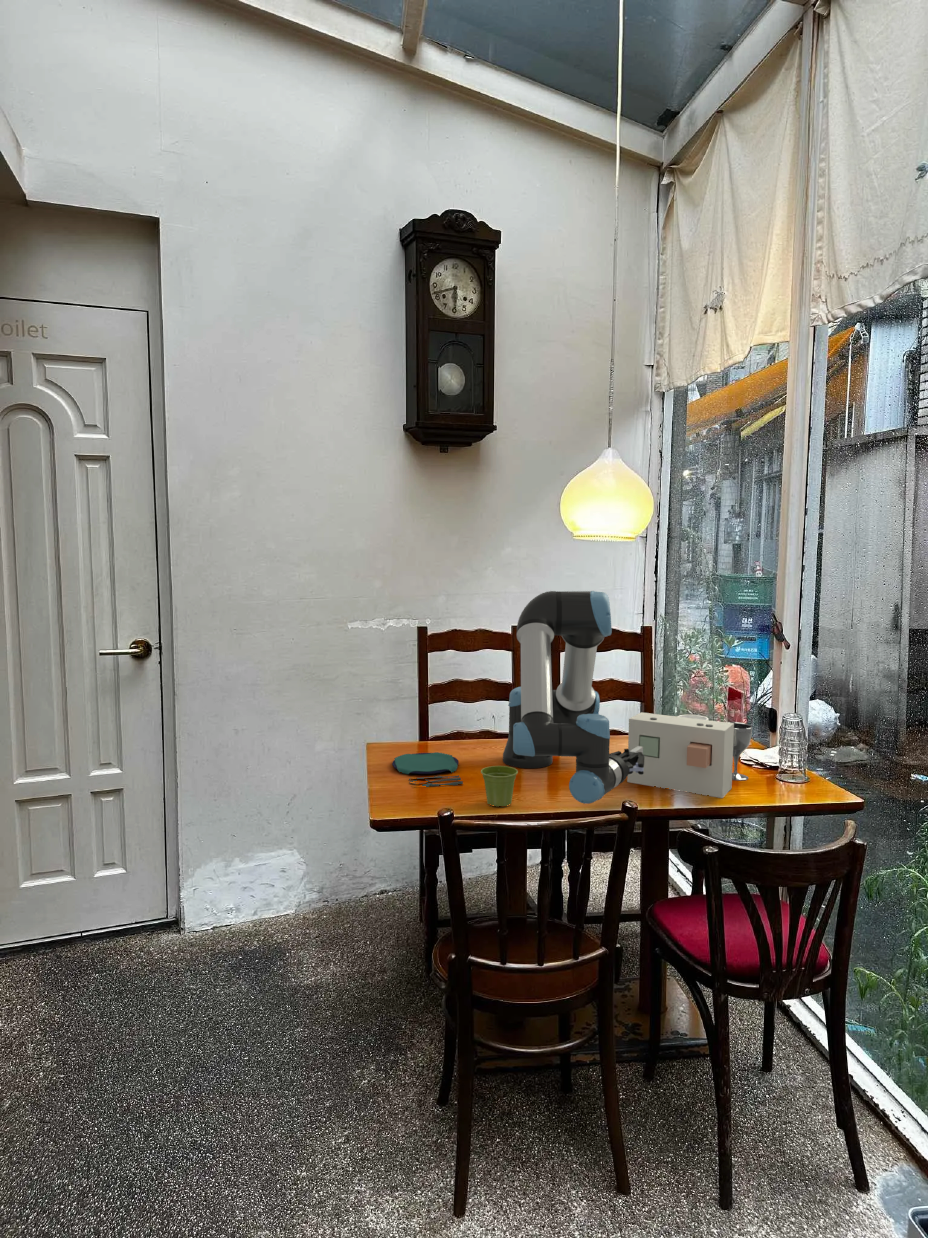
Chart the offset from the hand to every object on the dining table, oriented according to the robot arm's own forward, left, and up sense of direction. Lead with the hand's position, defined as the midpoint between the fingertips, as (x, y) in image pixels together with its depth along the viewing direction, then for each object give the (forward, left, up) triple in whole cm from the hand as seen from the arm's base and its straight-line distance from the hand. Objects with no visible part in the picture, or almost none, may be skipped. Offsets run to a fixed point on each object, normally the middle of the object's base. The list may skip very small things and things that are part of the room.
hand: (640, 751), depth 208 cm
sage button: (+8, +6, -3) cm, 10 cm away
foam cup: (+33, +25, -11) cm, 43 cm away
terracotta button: (+14, -7, -3) cm, 16 cm away
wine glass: (+34, +5, -11) cm, 36 cm away
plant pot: (-39, +3, -11) cm, 41 cm away
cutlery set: (-49, +36, -12) cm, 62 cm away
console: (+14, +3, -11) cm, 18 cm away
